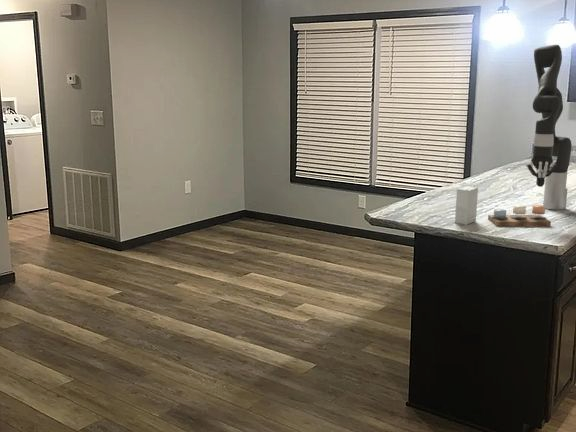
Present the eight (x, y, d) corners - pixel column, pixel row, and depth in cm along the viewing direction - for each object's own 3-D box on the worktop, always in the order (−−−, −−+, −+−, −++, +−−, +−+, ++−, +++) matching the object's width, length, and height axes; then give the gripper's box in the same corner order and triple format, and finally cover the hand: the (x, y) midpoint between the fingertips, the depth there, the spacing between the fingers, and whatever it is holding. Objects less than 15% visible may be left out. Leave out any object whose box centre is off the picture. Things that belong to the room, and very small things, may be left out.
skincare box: (463, 219, 283) (465, 185, 280) (476, 221, 279) (478, 187, 276) (454, 222, 277) (455, 188, 274) (467, 225, 273) (469, 189, 270)
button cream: (523, 211, 278) (523, 204, 278) (527, 214, 273) (527, 207, 273) (511, 211, 278) (511, 204, 278) (515, 214, 274) (515, 207, 273)
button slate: (504, 215, 279) (504, 209, 278) (507, 218, 274) (508, 211, 273) (492, 215, 279) (492, 209, 278) (495, 218, 274) (495, 211, 274)
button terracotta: (542, 211, 278) (542, 204, 277) (546, 214, 273) (547, 207, 273) (530, 211, 278) (530, 204, 278) (534, 214, 273) (534, 207, 273)
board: (539, 219, 283) (540, 214, 282) (550, 226, 270) (551, 220, 270) (487, 219, 283) (487, 214, 283) (496, 226, 271) (496, 220, 270)
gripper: (556, 143, 273) (552, 185, 277) (524, 143, 274) (521, 184, 277) (563, 145, 266) (559, 188, 270) (530, 145, 266) (526, 187, 270)
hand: (539, 186), depth 273 cm, fingers closed
